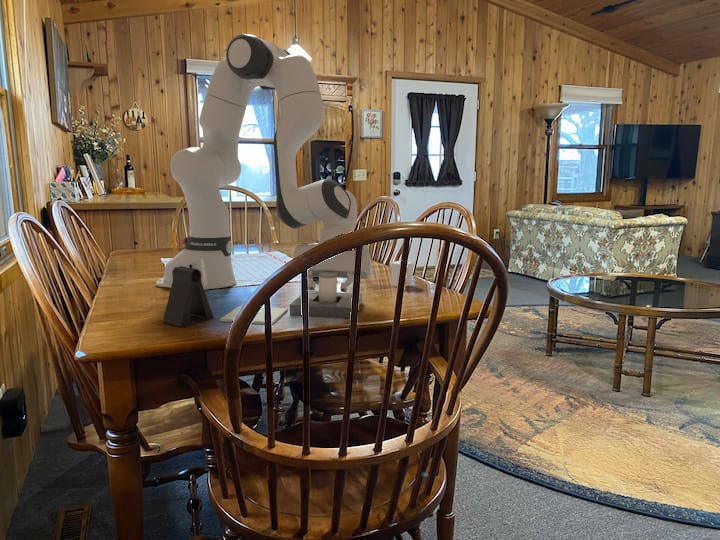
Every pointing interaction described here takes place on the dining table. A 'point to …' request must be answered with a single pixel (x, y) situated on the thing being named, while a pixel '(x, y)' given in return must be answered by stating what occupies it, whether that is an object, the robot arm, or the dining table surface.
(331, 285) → the end cover
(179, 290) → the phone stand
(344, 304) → the block
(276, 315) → the mat
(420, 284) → the dining table surface
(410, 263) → the shot glass
